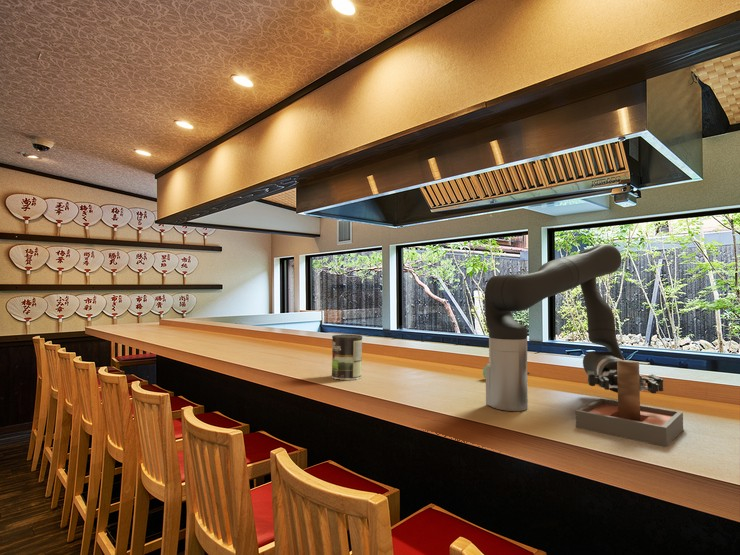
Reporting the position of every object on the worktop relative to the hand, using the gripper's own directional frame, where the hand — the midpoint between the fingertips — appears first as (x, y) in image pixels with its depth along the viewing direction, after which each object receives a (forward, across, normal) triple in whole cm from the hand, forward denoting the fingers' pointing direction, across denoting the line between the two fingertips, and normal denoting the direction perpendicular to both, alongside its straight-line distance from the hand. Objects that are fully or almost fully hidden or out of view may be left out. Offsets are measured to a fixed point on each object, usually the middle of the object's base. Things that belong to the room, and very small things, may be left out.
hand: (630, 386), depth 88 cm
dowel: (-2, 0, +9) cm, 9 cm away
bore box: (-2, 0, +9) cm, 9 cm away
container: (-55, -26, +10) cm, 61 cm away
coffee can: (-29, -78, +9) cm, 83 cm away
